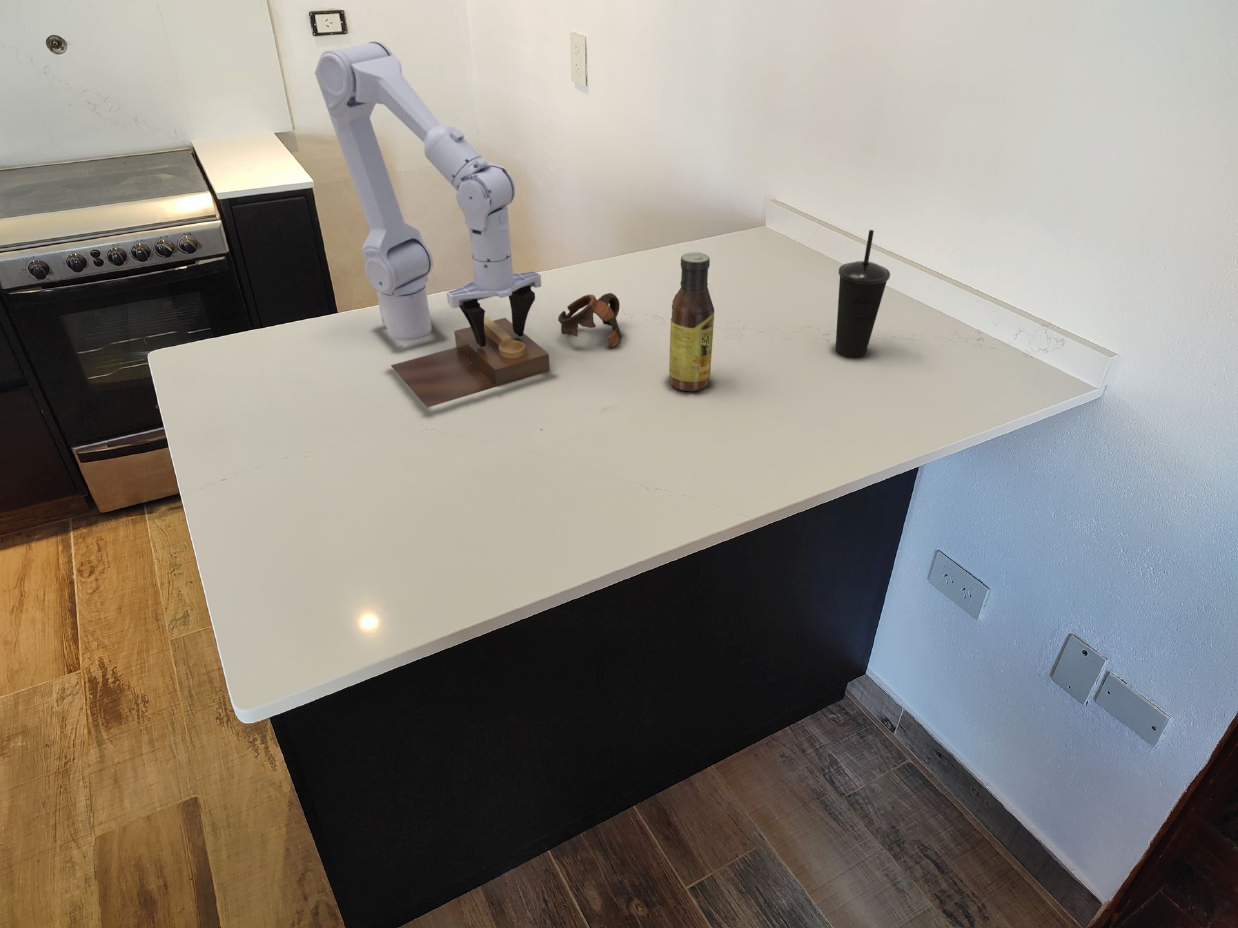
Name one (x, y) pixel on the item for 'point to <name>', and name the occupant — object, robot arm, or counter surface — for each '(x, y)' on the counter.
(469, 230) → the robot arm
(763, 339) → the counter surface
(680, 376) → the sauce bottle
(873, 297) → the drinking cup
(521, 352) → the spoon
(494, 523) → the counter surface
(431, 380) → the step shelf
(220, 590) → the counter surface
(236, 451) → the counter surface
